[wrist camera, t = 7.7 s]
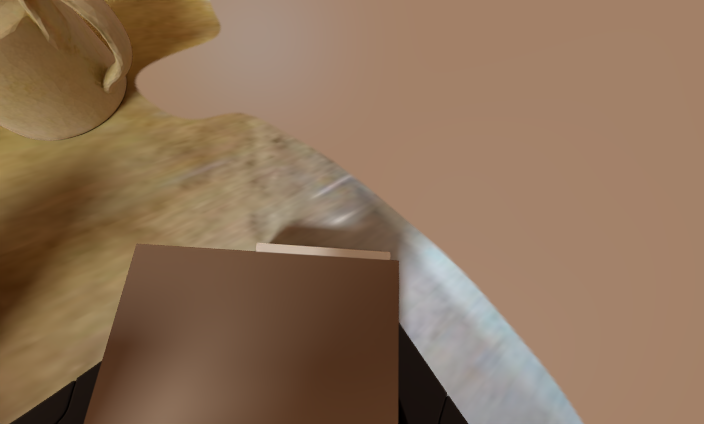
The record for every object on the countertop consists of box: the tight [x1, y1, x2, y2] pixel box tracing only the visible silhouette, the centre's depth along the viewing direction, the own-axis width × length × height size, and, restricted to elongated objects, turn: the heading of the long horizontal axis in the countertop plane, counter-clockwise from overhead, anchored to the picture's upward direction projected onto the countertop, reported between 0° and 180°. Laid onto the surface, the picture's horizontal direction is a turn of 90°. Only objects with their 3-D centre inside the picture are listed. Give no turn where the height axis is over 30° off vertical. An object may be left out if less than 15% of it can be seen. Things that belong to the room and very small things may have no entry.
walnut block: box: [84, 244, 399, 424], centre depth 9 cm, size 4×4×11 cm
